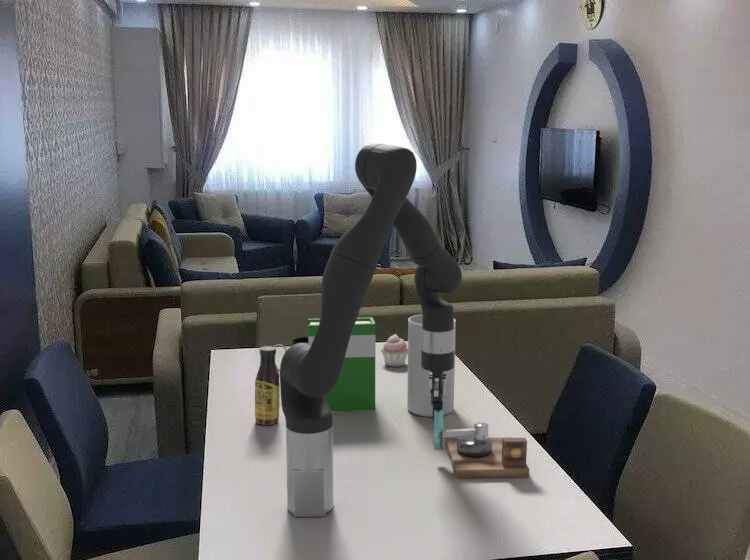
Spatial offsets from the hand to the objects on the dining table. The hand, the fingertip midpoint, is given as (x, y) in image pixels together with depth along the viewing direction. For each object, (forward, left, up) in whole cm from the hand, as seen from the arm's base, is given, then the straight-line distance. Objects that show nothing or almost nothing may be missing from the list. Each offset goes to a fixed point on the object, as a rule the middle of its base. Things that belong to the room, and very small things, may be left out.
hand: (437, 419), depth 183 cm
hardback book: (+34, +22, -9) cm, 41 cm away
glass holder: (+48, +35, -9) cm, 60 cm away
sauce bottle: (+23, +41, -9) cm, 48 cm away
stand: (-3, -11, -9) cm, 14 cm away
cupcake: (+73, +5, -9) cm, 73 cm away
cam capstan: (-3, -6, -6) cm, 9 cm away
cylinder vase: (+31, -2, -9) cm, 32 cm away
